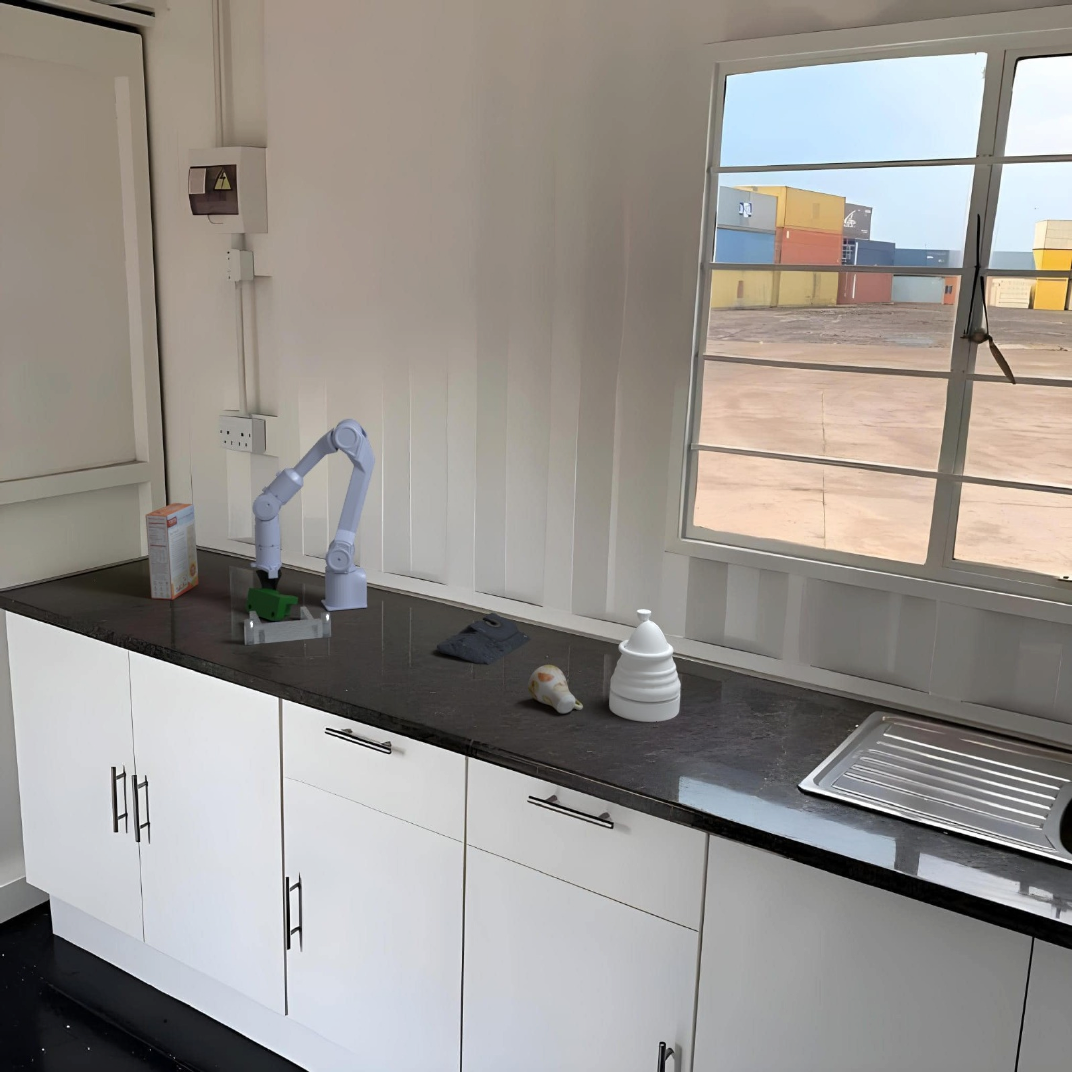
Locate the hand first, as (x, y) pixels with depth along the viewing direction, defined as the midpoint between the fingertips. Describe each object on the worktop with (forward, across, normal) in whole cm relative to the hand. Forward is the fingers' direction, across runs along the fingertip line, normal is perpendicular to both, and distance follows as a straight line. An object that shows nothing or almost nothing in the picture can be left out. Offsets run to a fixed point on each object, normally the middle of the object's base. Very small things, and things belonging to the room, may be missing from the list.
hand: (269, 600), depth 245 cm
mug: (+2, +78, +40) cm, 87 cm away
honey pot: (+2, +84, +55) cm, 100 cm away
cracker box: (+2, -18, -20) cm, 27 cm away
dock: (+1, +20, 0) cm, 20 cm away
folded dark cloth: (+2, +42, +38) cm, 57 cm away
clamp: (+2, +8, 0) cm, 8 cm away
